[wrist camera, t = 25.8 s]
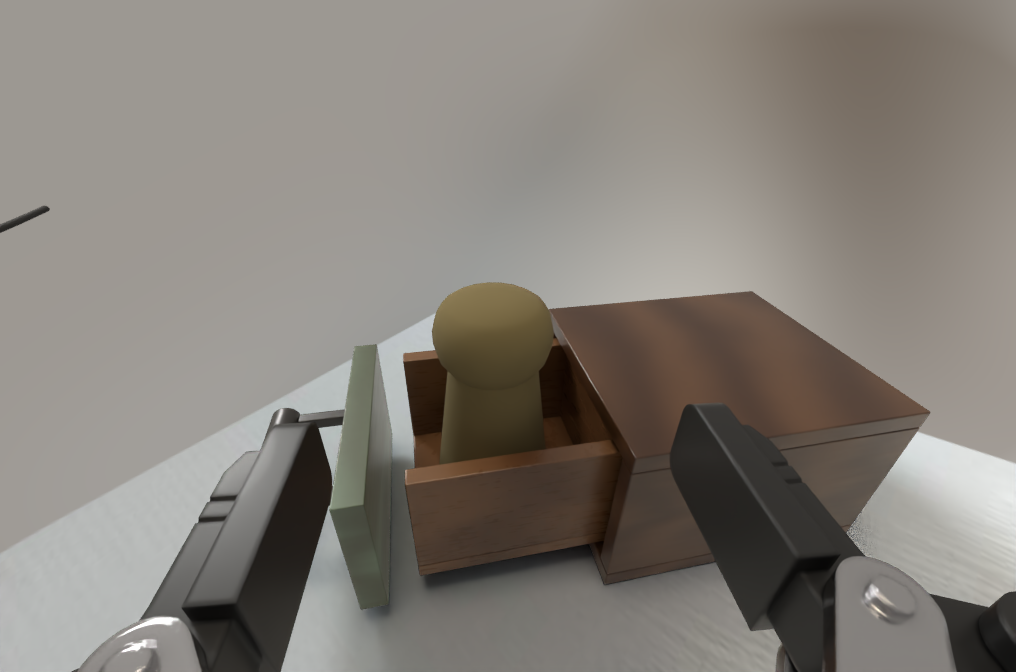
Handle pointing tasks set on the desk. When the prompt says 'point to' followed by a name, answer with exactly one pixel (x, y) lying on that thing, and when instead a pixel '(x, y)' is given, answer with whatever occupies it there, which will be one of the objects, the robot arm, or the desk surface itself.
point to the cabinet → (749, 395)
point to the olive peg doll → (492, 370)
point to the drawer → (463, 476)
